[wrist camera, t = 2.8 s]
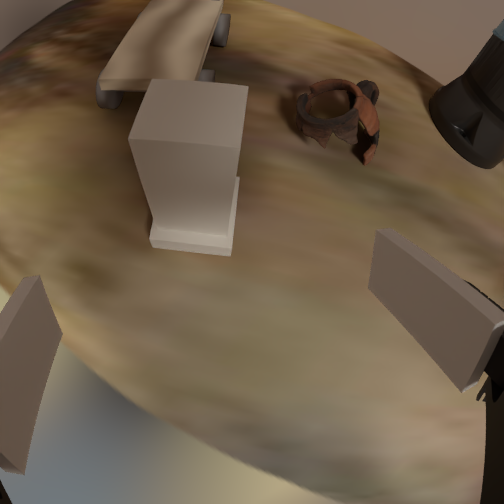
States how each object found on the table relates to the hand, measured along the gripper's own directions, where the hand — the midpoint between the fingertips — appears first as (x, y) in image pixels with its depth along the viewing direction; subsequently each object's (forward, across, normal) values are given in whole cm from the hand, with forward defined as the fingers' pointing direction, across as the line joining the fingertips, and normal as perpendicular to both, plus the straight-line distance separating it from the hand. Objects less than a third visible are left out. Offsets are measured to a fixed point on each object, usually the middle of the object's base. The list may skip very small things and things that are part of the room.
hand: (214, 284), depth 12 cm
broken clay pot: (+25, +18, +2) cm, 31 cm away
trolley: (+34, -1, +12) cm, 36 cm away
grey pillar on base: (+19, 0, -4) cm, 19 cm away
